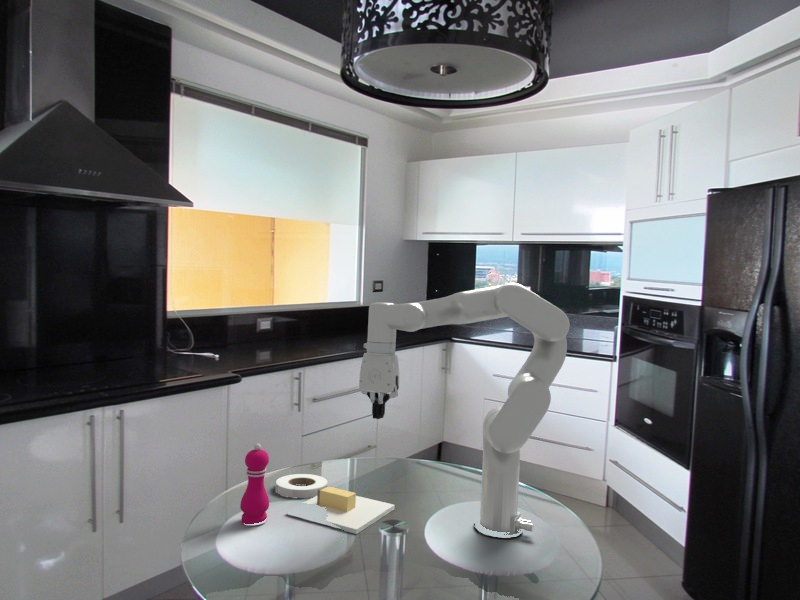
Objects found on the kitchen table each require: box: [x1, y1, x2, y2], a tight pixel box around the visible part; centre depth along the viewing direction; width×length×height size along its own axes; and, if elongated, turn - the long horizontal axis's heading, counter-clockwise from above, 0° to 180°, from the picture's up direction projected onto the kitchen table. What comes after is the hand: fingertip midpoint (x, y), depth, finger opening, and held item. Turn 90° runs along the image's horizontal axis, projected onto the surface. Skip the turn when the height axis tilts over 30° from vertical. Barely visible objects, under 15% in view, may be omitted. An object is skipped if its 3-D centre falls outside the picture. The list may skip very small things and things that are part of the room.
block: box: [317, 485, 357, 512], centre depth 150 cm, size 4×4×10 cm
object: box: [275, 473, 328, 499], centre depth 165 cm, size 16×15×3 cm
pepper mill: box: [239, 443, 270, 524], centre depth 140 cm, size 7×7×20 cm
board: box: [302, 495, 395, 535], centre depth 149 cm, size 22×20×1 cm
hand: (378, 417), depth 144 cm, fingers closed
